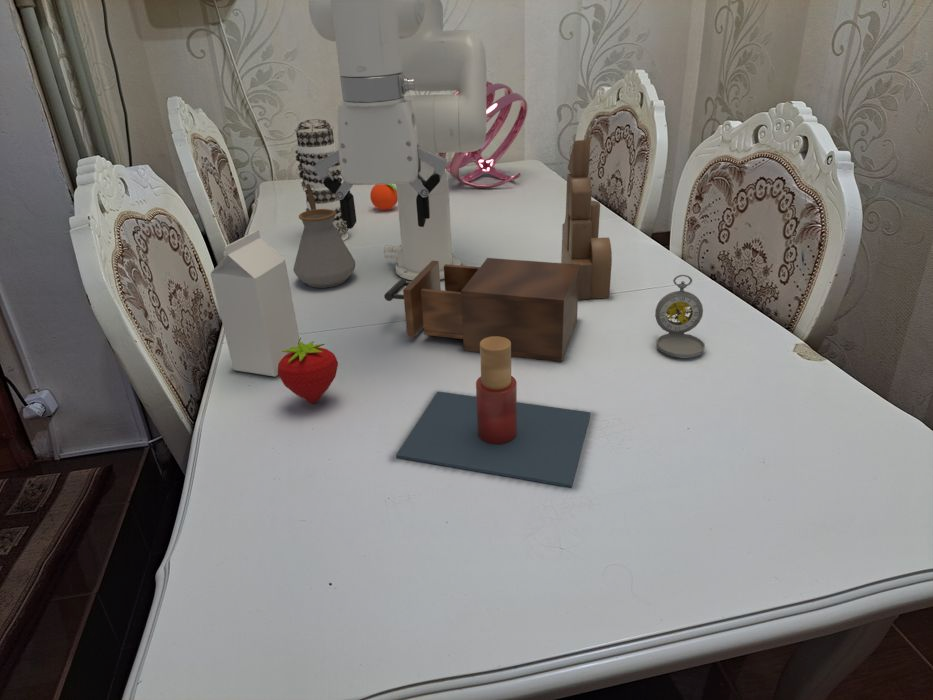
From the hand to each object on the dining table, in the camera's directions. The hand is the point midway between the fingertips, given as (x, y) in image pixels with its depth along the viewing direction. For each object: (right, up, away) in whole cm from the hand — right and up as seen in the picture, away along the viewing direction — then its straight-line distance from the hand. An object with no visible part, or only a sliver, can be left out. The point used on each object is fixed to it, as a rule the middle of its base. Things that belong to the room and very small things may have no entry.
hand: (387, 224), depth 87 cm
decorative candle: (-20, +8, +57) cm, 61 cm away
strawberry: (-9, -24, -3) cm, 26 cm away
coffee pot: (-17, -2, +39) cm, 43 cm away
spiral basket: (+15, +31, +97) cm, 103 cm away
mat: (+14, -27, -11) cm, 33 cm away
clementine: (-9, +18, +75) cm, 78 cm away
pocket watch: (+42, -17, +7) cm, 46 cm away
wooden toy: (+32, -5, +29) cm, 43 cm away
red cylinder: (+14, -27, -11) cm, 33 cm away
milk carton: (-18, -19, +7) cm, 27 cm away
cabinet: (+19, -15, +11) cm, 27 cm away
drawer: (+8, -13, +14) cm, 21 cm away
